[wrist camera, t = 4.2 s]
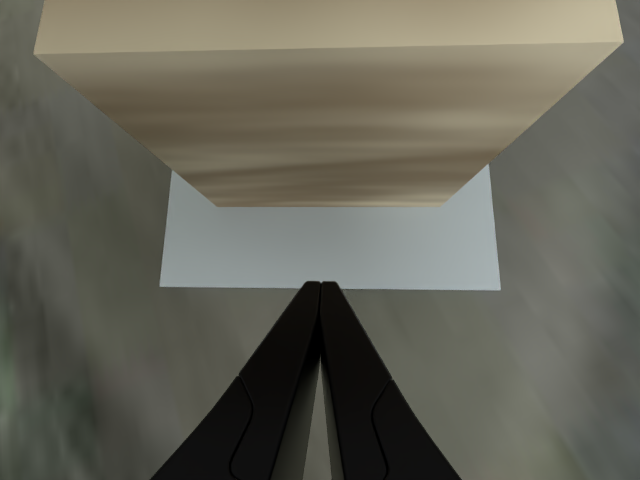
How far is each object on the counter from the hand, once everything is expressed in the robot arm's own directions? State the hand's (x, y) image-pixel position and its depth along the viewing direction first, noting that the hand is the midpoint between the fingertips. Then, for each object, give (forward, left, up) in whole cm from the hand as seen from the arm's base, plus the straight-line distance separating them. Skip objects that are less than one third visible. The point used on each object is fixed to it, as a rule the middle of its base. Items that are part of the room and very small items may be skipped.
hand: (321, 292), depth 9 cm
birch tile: (+4, +4, -6) cm, 8 cm away
